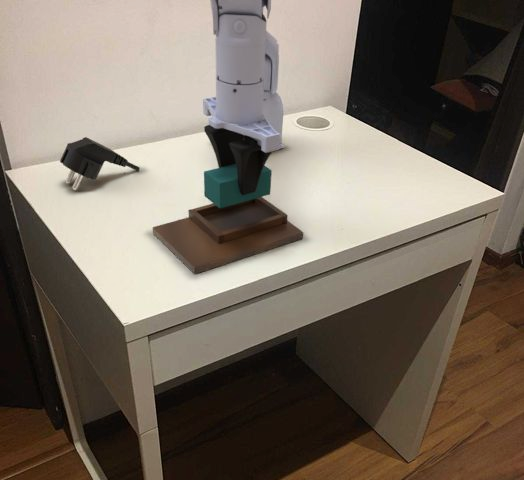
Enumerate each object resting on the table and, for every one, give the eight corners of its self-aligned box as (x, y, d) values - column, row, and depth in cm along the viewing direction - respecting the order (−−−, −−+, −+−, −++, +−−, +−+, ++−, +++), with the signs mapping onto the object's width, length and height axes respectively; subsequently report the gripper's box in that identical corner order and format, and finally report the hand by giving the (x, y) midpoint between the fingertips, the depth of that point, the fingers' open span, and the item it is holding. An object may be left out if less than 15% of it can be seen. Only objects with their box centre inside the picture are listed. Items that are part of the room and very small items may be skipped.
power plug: (148, 170, 92) (83, 139, 83) (127, 213, 94) (61, 187, 85) (132, 158, 95) (67, 126, 86) (112, 199, 97) (46, 173, 88)
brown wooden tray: (256, 204, 87) (256, 190, 85) (303, 238, 80) (304, 224, 78) (152, 233, 79) (151, 219, 78) (194, 274, 72) (193, 259, 71)
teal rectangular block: (254, 183, 81) (254, 159, 79) (270, 194, 79) (271, 170, 77) (204, 196, 78) (203, 171, 76) (219, 208, 75) (219, 183, 73)
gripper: (180, 65, 71) (185, 171, 80) (245, 101, 62) (242, 215, 71) (229, 58, 74) (229, 160, 83) (297, 91, 66) (289, 202, 75)
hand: (238, 185), depth 78 cm, fingers closed on teal rectangular block, 4 cm apart
